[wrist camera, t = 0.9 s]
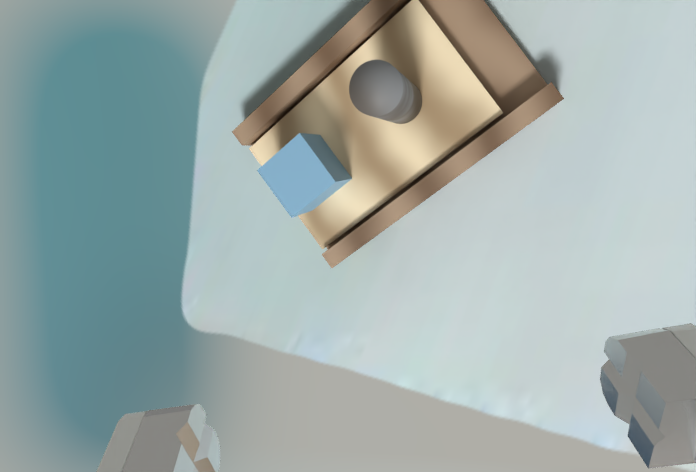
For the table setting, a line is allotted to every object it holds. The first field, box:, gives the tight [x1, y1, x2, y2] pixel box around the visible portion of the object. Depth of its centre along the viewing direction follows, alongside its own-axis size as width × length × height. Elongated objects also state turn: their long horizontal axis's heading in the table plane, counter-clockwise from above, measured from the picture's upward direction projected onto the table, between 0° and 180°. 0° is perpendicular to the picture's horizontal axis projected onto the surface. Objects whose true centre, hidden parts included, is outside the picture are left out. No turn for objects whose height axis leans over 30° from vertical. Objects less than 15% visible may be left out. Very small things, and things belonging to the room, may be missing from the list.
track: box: [232, 0, 564, 268], centre depth 42 cm, size 24×16×3 cm, turn 128°
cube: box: [257, 133, 352, 217], centre depth 42 cm, size 5×5×5 cm
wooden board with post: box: [249, 0, 503, 249], centre depth 38 cm, size 20×12×11 cm, turn 128°
